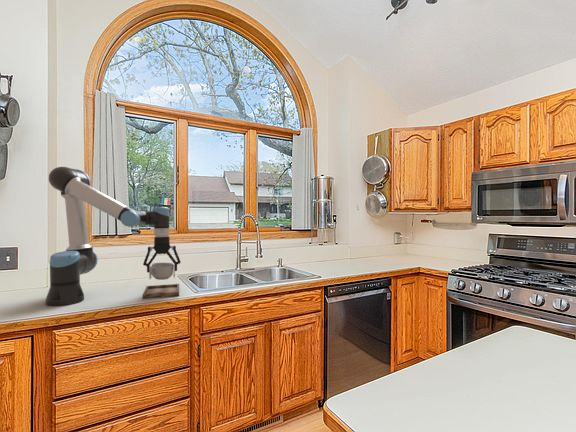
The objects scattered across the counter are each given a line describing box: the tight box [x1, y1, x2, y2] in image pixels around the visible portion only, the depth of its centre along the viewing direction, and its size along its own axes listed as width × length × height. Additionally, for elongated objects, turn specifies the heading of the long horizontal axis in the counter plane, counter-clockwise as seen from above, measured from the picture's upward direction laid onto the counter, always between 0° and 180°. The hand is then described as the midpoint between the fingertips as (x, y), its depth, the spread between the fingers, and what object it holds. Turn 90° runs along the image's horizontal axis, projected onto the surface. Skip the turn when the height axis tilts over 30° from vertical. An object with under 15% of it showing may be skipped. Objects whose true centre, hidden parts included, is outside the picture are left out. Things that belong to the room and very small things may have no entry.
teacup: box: [149, 262, 174, 281], centre depth 172 cm, size 14×11×8 cm
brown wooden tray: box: [142, 283, 180, 300], centre depth 172 cm, size 17×20×2 cm
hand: (162, 277), depth 172 cm, fingers closed on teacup, 11 cm apart
